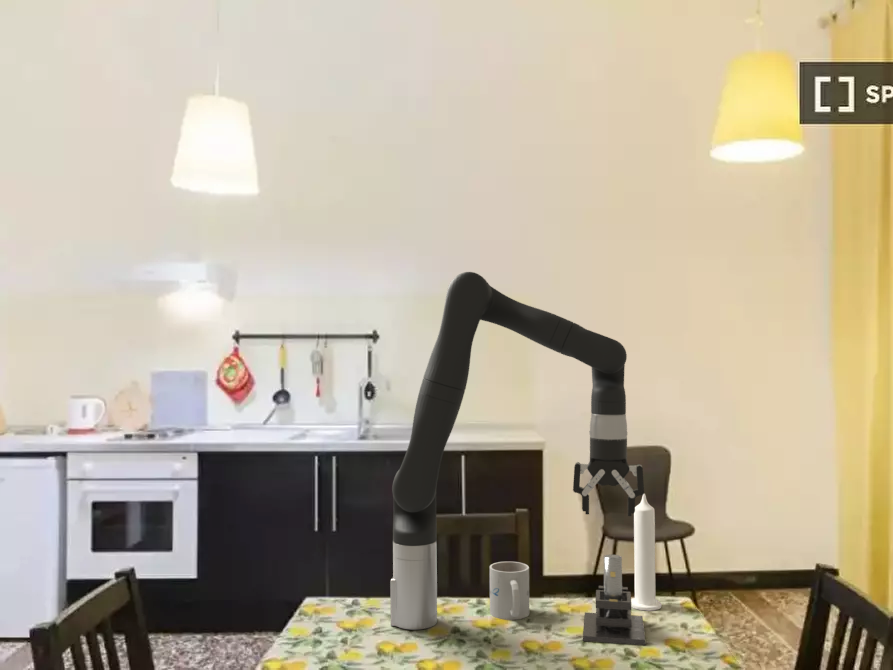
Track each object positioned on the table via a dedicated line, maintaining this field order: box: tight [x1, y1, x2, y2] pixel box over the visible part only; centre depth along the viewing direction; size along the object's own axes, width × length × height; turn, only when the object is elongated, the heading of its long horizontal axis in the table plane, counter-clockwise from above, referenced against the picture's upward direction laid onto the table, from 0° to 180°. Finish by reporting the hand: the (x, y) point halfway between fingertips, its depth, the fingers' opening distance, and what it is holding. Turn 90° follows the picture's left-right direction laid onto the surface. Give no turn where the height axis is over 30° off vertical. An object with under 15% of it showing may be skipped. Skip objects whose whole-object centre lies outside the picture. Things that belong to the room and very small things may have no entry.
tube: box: [603, 554, 623, 629], centre depth 162 cm, size 4×4×14 cm
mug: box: [489, 561, 530, 621], centre depth 172 cm, size 12×9×10 cm
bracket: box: [582, 585, 646, 646], centre depth 162 cm, size 12×14×7 cm
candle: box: [631, 493, 662, 612], centre depth 178 cm, size 7×7×25 cm
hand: (608, 514), depth 163 cm, fingers open, 8 cm apart
